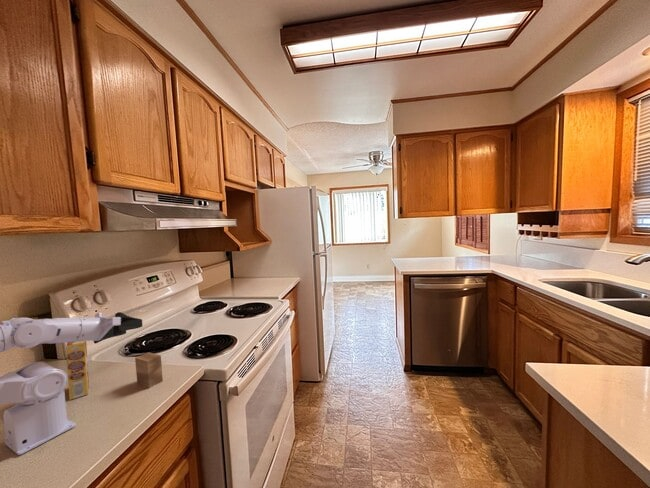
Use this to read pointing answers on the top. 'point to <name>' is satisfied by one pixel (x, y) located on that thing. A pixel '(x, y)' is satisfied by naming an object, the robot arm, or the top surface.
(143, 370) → the walnut block
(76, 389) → the candy box
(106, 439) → the top surface
